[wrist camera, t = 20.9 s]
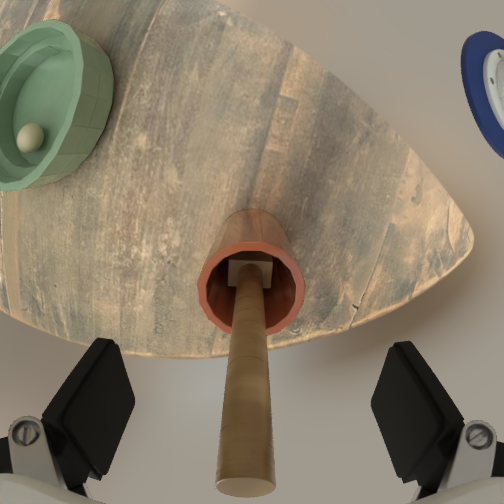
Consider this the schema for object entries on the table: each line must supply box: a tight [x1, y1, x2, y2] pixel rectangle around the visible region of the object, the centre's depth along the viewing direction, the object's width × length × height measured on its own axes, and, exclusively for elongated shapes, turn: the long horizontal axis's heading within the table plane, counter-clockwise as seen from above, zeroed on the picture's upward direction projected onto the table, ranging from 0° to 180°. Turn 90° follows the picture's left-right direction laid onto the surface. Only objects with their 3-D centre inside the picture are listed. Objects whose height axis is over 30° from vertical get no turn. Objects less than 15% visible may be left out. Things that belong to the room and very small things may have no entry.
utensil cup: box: [197, 209, 305, 336], centre depth 20 cm, size 6×6×10 cm
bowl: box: [0, 19, 114, 192], centre depth 18 cm, size 16×16×6 cm
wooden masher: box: [215, 251, 276, 497], centre depth 15 cm, size 3×2×20 cm, turn 87°
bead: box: [17, 123, 44, 153], centre depth 20 cm, size 3×3×3 cm
